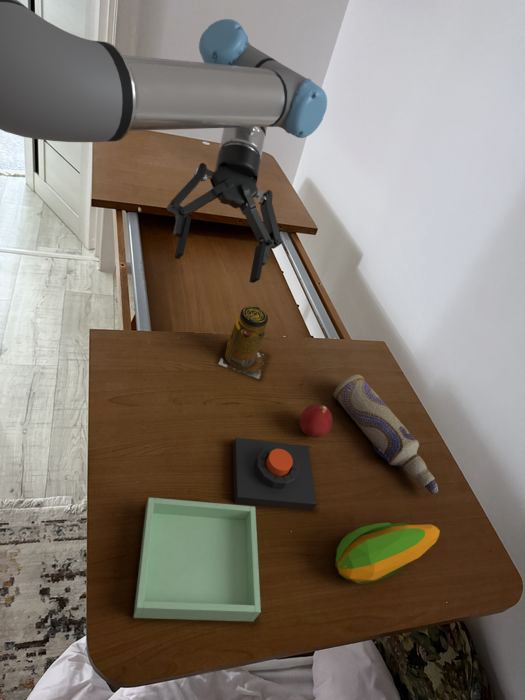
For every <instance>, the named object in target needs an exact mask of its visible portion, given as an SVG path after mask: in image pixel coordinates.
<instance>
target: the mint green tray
mask: <svg viewBox="0 0 525 700" xmlns="http://www.w3.org/2000/svg"><path fill="white" fill-rule="evenodd" d="M147 499H148V500H147V502H146V507H145V512H144V519H143V528H142V537H141V538H142V539H141V545H140V547H141V549H140V556H139V565H138V572H137V573H138V575H137V581H136V582H137V583H136V592H135V600H134V607H133V608H134V609H133V619H155V620H156V619H157V620H159V619H160V620H188V621H189V620H190V621H191V620H193V621H221V622H222V621H223V622H225V621H226V622H252V623H253V622H254V621H255V620H256V619H257V617H258V616H259V615H260V613H262V611H261V591H260V590H261V589H260V574H259V573H260V572H259V571H260V570H259V569H260V568H259V552H258V533H257V515H256V514H257V513H256V512H257V511H256V506H254V505H243V504H231V503H216V502H206V501H195V500H194V501H193V500H183V499H172V498H159V497H148V498H147Z"/></svg>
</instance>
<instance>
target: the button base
mask: <svg viewBox="0 0 525 700" xmlns="http://www.w3.org/2000/svg"><path fill="white" fill-rule="evenodd" d="M274 449H283V450H285V451H287V452H288V453H289V454H290V455H291V457H292V459H293V464H292V467H291V468H290V470H289V472H288V473H287V474H286V475H284V476H276V475H274V474H272V473H271V472H270V471H269V470H268V469H267V466H266V460H267V458H268V456H269V454H270V452H271V451H272V450H274ZM232 464H233V465H232V466H233V467H232V468H233V470H232V471H233V504H234V505H245V506H258V507H268V508H269V507H270V508H281V509H292V510H293V509H294V510H303V511H313V510H314V509H315V507H316V506H317V504H318V502H317V495H316V489H315V483H314V476H313V469H312V461H311V455H310V448H309V446H308V445H304V444H303V445H301V444H293V443H285V442H277V441H269V440H262V439H253V438H244V437H243V438H242V437H235V438H234V441H233V443H232Z"/></svg>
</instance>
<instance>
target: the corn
mask: <svg viewBox="0 0 525 700" xmlns="http://www.w3.org/2000/svg"><path fill="white" fill-rule="evenodd" d="M440 532H441V530H440V529H439V528H438V527H437V526H435V525H433V524H431V523H430V524H429V523H427V524H409V523H407V522H399V523H398V522H397V523H391V522H390V521H389V522H380V523H379V522H378V523H377V522H376V523H372V524H369V525H364V526H360V527H358V528H357V529H354V530H353V531H350V532H349V533H347V534H346V535H345V536H344V537H343V538H342V539H341V541H340V543H339V545H338V547H337V548H336V555H335V568H336V569H337V572H338V574H339V575H340V576H341V577H342V578H344V579H346V580H347V581H349V582H351V583H355V584H360V585H361V584H362V585H363V584H372V583H374V582H378V581H380V580H383V579H386V578H389V577H391V576H393V575H395V574H397V573H399V572H400V571H402V570H404V569H406V568H407V567H408V566H409V565H410V563H412V562H413V561H415V560H417V559H419V558H421V557H422V555H423V554H425V553H426V552H427V551H428V550H429V549H430V548H432V546H433V545H435V544H436V543H437V541H438V539H439V536H440Z"/></svg>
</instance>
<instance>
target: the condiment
mask: <svg viewBox="0 0 525 700" xmlns="http://www.w3.org/2000/svg"><path fill="white" fill-rule="evenodd" d="M268 321H269V316H268V314H267V313H266V311H265V310H264V309H262V308H260V307H258V306H255V305H248V306H245V307H243V308H242V309H241V311H240V314H239V316H238V317H237V319H235V322H234V324H233V325H234V326H233V327H232V330H231V335H230V338H229V341H228V342H227V344H226V345H227V346H226V349H225V352H224V358H225V361H226V362H227V363H228V364H226V363H224V359H223V358H222V357H220V359H219V362H218V365H219V366H222V367H224V368H228V365H230V366H231V367H233V368H232V369H233V371H237V372H238V373H241V374H244V375H246V376H249V377H252V378H255V379H258V380H260V377H261V374H262V372H261V371H262V369H258V371H251V370H249V371H244V370H245V369H246V370H247V369H249V368H250V367H252V366H253V364H254V362H255V361H256V358H257V359H258V358H261V357H262V356H264V353H261V354H260V352H259V350H260V347H261V345H262V342H263V340H264V338H265V335H266V331H267V328H266V327H267V325H268ZM261 362H262V361H259V363H261ZM263 364H264V363H262V365H261V367H262V366H263Z"/></svg>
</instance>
